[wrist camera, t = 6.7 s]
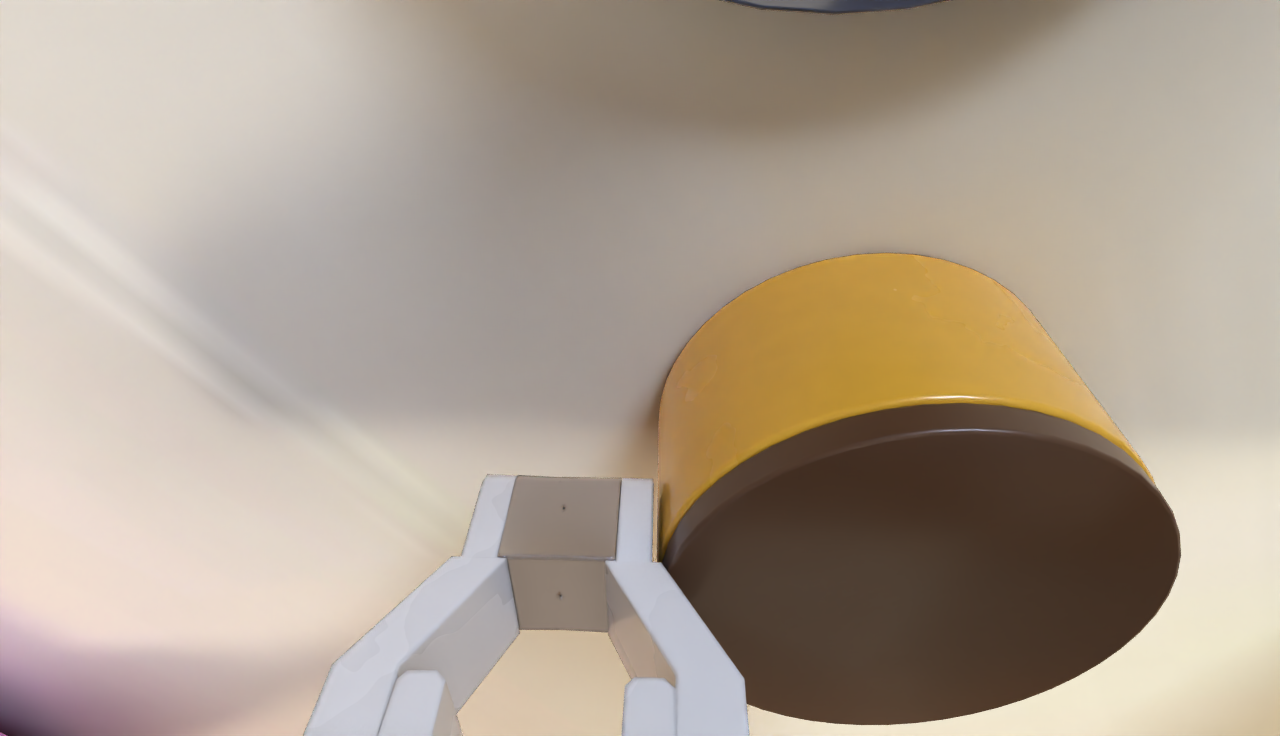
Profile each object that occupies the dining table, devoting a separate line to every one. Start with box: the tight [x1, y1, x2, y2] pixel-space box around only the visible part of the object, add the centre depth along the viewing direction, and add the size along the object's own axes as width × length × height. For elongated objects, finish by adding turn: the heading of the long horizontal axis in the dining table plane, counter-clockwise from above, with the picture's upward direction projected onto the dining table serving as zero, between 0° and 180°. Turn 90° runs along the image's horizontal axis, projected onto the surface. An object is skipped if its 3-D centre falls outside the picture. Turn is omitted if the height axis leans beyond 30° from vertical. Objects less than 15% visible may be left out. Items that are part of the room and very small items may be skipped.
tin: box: [657, 253, 1181, 725], centre depth 11 cm, size 7×7×4 cm
